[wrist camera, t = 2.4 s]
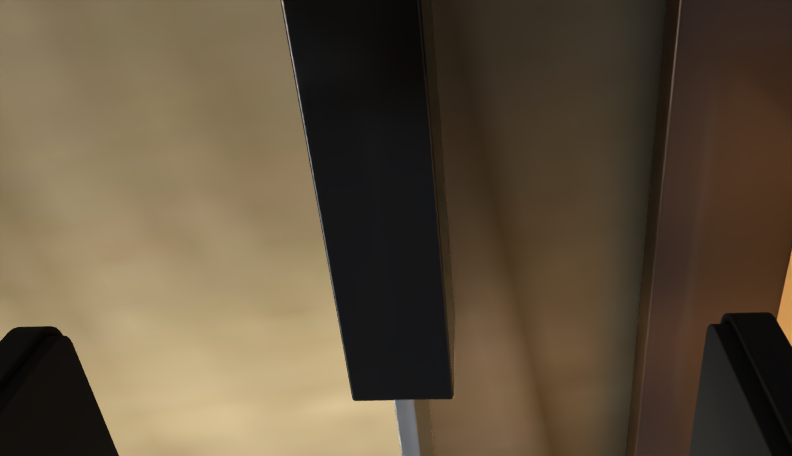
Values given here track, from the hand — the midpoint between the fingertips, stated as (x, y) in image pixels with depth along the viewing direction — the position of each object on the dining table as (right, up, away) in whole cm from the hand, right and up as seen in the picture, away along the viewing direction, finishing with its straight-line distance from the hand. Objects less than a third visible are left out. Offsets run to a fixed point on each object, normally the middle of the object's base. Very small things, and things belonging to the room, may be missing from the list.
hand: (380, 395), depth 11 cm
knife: (+1, -2, +10) cm, 10 cm away
